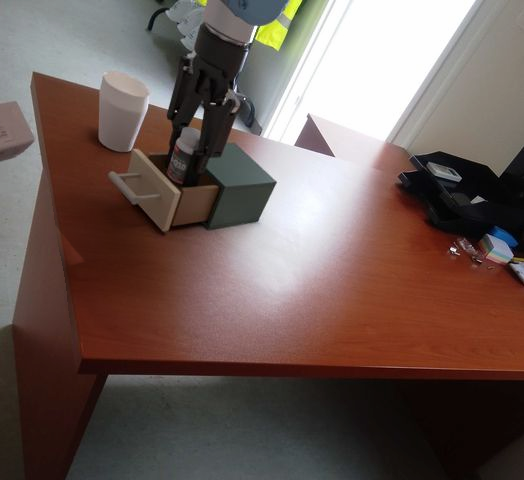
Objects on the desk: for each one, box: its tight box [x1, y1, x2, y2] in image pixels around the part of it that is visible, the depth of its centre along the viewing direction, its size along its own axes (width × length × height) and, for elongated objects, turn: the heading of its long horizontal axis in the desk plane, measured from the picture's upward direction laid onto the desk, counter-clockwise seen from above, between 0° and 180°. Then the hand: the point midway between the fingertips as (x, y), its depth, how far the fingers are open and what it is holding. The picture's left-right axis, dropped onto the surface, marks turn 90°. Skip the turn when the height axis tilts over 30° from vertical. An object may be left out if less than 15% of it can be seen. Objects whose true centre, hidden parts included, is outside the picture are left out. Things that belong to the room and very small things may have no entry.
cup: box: [98, 70, 151, 153], centre depth 90 cm, size 9×9×12 cm
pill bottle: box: [167, 126, 201, 184], centre depth 79 cm, size 5×5×8 cm
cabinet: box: [200, 142, 278, 231], centre depth 91 cm, size 15×14×10 cm
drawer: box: [107, 148, 221, 232], centre depth 81 cm, size 19×12×8 cm, turn 136°
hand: (180, 175), depth 81 cm, fingers closed on pill bottle, 5 cm apart
